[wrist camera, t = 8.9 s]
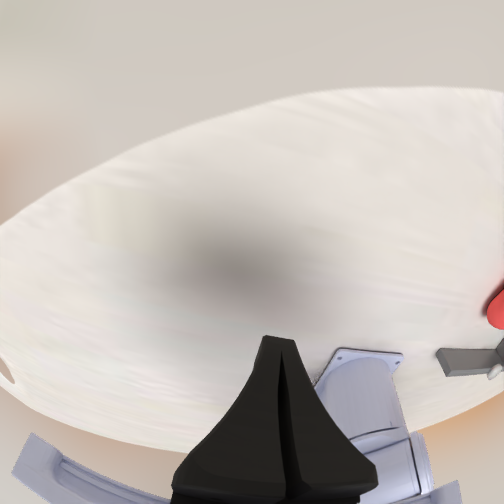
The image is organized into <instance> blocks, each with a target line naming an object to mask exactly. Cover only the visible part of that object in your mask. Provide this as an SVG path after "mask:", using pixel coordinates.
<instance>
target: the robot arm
mask: <svg viewBox="0 0 504 504" xmlns="http://www.w3.org/2000/svg"><path fill="white" fill-rule="evenodd" d="M403 359H404V356H403V355H402V354H391V353H378V352H368V351H358V350H349V349H339V350H338V351H337V352H336V353H335V355H334V357H333V359H332V360H331V362H330V363H329V365H328V367H327V368H326V370H325V372H324V373H323V375H322V376H321V378H320V380H319V381H318V383H317V384H316V386H315V387H313V385H312V383H311V381H310V379H309V377H308V374H307V372H306V370H305V367H304V365H303V363H302V360H301V357H300V355H299V352H298V349H297V346H296V343H295V341H294V340H291V339H285V338H279V337H274V336H268V335H265V336H263V338H262V341H261V344H260V347H259V350H258V353H257V356H256V359H255V362H254V368H253V371H252V373H251V375H250V377H249V379H248V381H247V382H246V384H245V386H244V388H243V389H242V391H241V393H240V394H239V396H238V397H237V399H236V400H235V402H234V403H233V405H232V406H231V407H230V409H229V410H228V411H227V413H226V414H225V415H224V417H223V418H222V419H221V420H220V422H219V423H218V424H217V425H216V426H215V427H214V428H213V429H212V431H211V432H210V433H209V434H208V435H207V436H206V437H205V438H204V439H203V440H202V441H201V442H200V443H199V444H198V445H197V446H196V447H195V448H194V449H193V450H192V451H191V452H190V453H189V454H188V456H187V457H186V458H185V459H184V461H183V462H182V464H180V466H179V467H178V468H177V470H176V471H175V473H174V476H173V481H172V484H171V486H172V489H173V494H172V498H171V500H170V499H166V498H163V497H159V496H156V495H153V494H150V493H147V492H144V491H141V490H138V489H135V488H133V487H129V486H127V485H125V484H122V483H120V482H117V481H115V480H112V479H110V478H108V477H106V476H103V475H101V474H99V473H97V472H95V471H93V470H91V469H89V468H87V467H85V466H83V465H81V464H79V463H77V462H75V461H73V460H72V459H70V458H68V457H66V456H65V455H63V454H62V453H61V452H60V451H59V450H58V449H56V448H55V447H54V446H52V445H51V444H49V443H48V442H46V441H45V440H43V439H42V438H40V437H39V436H37V435H36V434H34V433H31V434H30V436H29V438H28V439H27V441H26V444H25V446H24V447H23V449H22V452H21V453H20V456H19V458H18V460H17V462H16V464H15V466H14V469H13V471H12V475H13V476H14V477H15V478H16V479H18V480H19V481H20V482H21V483H23V484H24V485H25V486H27V487H28V488H29V489H31V490H32V491H33V492H35V493H36V494H37V495H39V496H40V497H42V498H43V499H44V500H46V501H47V502H49V503H50V504H462V500H461V493H460V489H459V484H458V480H456V481H453V482H451V483H448V484H446V485H443V486H441V487H439V488H437V489H435V490H434V488H433V484H434V480H433V475H432V470H431V466H430V461H429V457H428V452H427V448H426V444H425V441H424V437H423V434H421V433H417V431H414V432H412V433H410V434H409V432H408V430H407V427H406V423H405V420H404V416H403V412H402V408H401V405H400V401H399V398H398V395H397V391H396V388H395V385H394V381H393V378H392V374H393V372H394V371H395V370H396V369H397V367H398V366H399V365H400V363H401V362H402V361H403ZM410 436H411V437H410Z"/></svg>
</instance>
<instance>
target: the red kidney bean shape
mask: <svg viewBox="0 0 504 504" xmlns="http://www.w3.org/2000/svg"><path fill="white" fill-rule="evenodd" d="M487 319H488V322H489V323H490V324H491V325H492V326H493V327H495V328H498V329H504V289H503V290H502V291H501V292H500V293H499V294H498V295H497V296H496V297H495V298H494V299H493V300H492V302H491V303H490V305H489V307H488V310H487Z"/></svg>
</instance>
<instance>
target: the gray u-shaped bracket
mask: <svg viewBox="0 0 504 504" xmlns="http://www.w3.org/2000/svg"><path fill="white" fill-rule="evenodd" d="M436 356H437V358H438V360H439V362H440V364H441V367H442V369H443V371H444V373H445V375H446V377H451V376H466V375H477V374H486V373H487V377H488V379H489V380H491V379H493V378H495V377H496V376H497V375H498V374H499V373H500V372H502V371H504V339H503V340H502V341H501V343H500V344H499V346H498V347H497V348H496V349H445V348H440V349H439V351H438V352H437V353H436Z"/></svg>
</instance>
